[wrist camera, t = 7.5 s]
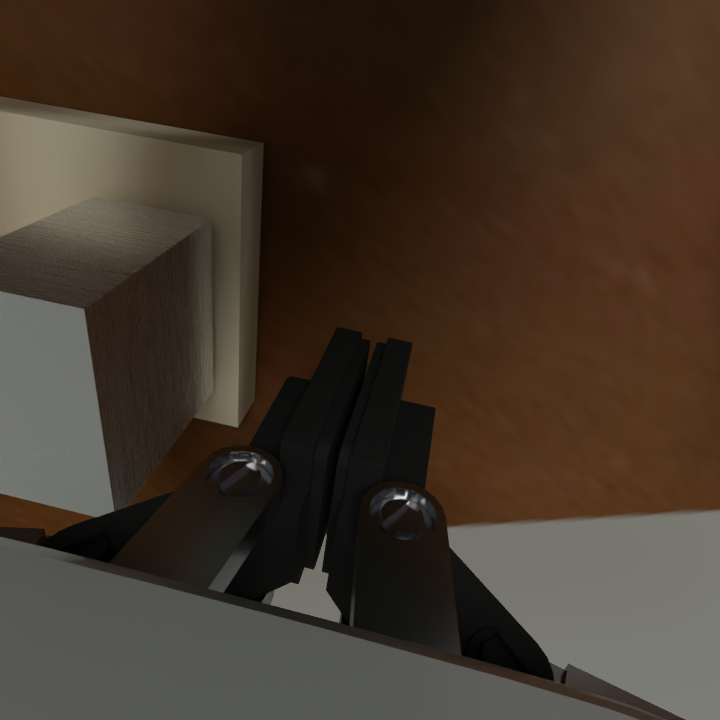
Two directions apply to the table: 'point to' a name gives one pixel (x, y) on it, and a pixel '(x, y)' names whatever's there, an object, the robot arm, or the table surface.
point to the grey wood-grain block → (100, 350)
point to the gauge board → (156, 190)
